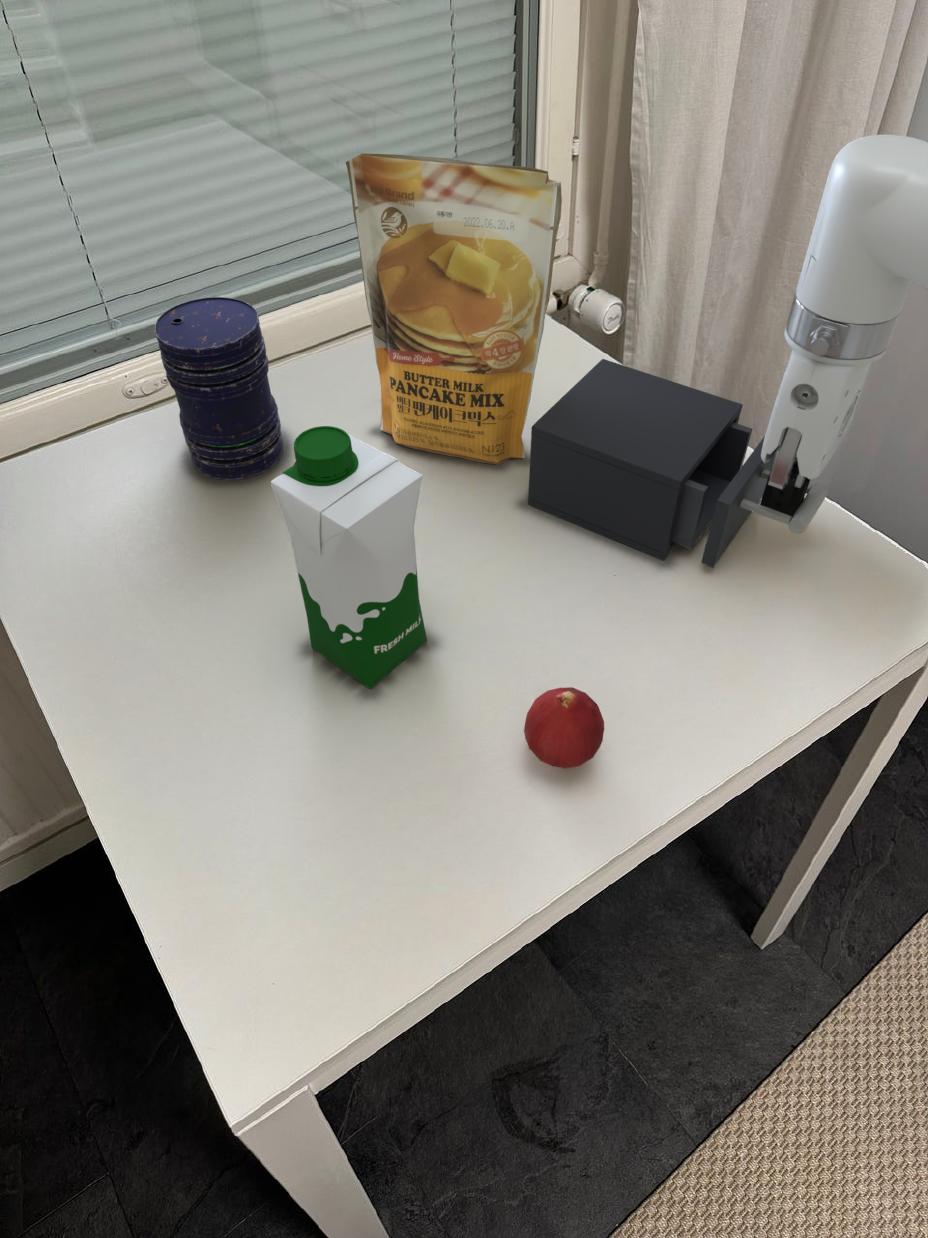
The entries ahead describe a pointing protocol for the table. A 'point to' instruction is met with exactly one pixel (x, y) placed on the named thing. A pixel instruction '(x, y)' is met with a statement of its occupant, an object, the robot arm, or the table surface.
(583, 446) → the cabinet
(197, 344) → the navy blue cylinder
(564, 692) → the onion
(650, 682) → the table surface
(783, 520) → the drawer
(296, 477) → the milk carton
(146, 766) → the table surface
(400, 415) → the pancake mix bag
